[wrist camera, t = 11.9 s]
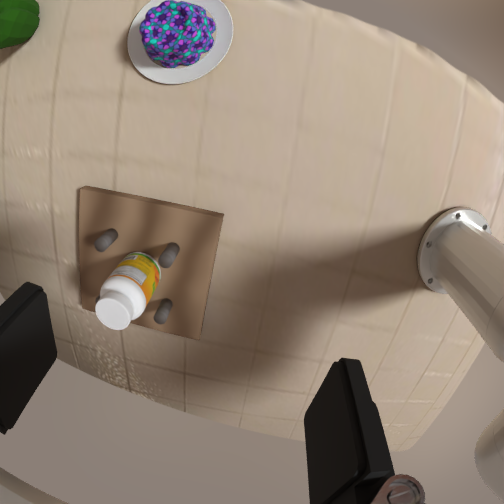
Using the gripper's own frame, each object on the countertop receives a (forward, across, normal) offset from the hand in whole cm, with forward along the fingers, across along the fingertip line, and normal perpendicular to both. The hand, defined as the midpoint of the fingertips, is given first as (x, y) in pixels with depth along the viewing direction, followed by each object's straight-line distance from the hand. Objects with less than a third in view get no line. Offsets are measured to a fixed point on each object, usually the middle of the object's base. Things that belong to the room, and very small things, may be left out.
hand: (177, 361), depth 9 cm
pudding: (+29, +10, -15) cm, 34 cm away
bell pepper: (+28, +34, -17) cm, 47 cm away
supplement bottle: (+27, +10, +14) cm, 32 cm away
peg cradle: (+28, +10, +14) cm, 33 cm away
